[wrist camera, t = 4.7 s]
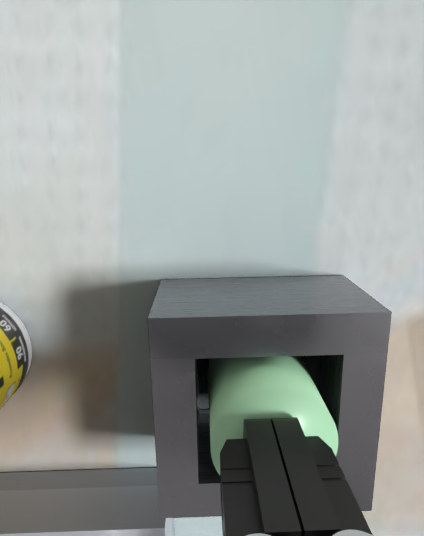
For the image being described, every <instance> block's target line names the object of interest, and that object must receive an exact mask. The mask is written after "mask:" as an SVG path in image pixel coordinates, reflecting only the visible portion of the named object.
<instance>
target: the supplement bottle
mask: <svg viewBox="0 0 424 536" xmlns="http://www.w3.org/2000/svg"><path fill="white" fill-rule="evenodd" d="M31 360H32V346H31V341H30V337H29V334H28V332H27V330H26V328H25V326H24V324H23V323H22V321H21V320H20V319H19V317H18V316H17V315H16V314H15V313H14V312H13V311H12V310H11V309H9V308H8V307H7V306H5V305H4V304H2V303H1V302H0V409H1V408H2V407H3V405H4V404H5V403H6V402H7V401H8V400H9V398H10V397H11V396H12V395H13V394H14V393H15V392H16V391H17V389H18V388H19V387H20V385H21V384H22V382H23V381H24V379H25V378H26V376H27V374H28V371H29V368H30V365H31Z"/></svg>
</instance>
